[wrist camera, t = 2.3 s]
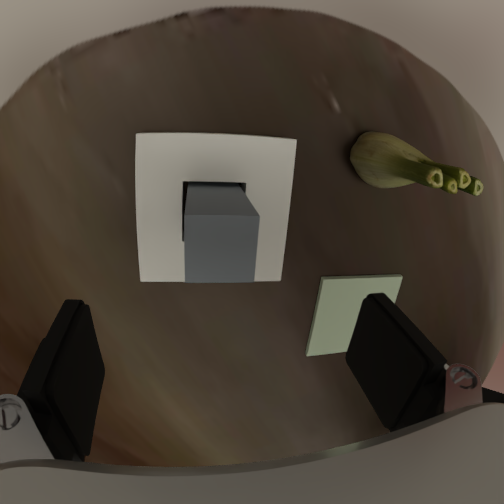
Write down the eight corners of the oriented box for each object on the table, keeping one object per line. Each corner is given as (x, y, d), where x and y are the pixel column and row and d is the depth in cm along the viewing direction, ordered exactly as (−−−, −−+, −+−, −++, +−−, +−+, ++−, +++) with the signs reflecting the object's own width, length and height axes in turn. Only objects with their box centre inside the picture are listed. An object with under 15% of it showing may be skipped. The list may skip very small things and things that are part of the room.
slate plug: (236, 181, 26) (259, 216, 17) (233, 226, 27) (254, 282, 18) (188, 180, 25) (184, 214, 16) (187, 226, 27) (184, 282, 18)
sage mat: (400, 274, 33) (402, 276, 32) (377, 343, 37) (379, 346, 36) (321, 276, 31) (323, 279, 30) (305, 352, 35) (306, 356, 34)
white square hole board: (287, 137, 25) (296, 139, 23) (273, 268, 30) (280, 280, 27) (141, 132, 23) (136, 133, 21) (144, 268, 27) (140, 281, 25)
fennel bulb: (401, 153, 27) (493, 181, 16) (377, 194, 29) (461, 239, 18) (360, 118, 25) (453, 127, 14) (333, 161, 27) (416, 194, 16)
